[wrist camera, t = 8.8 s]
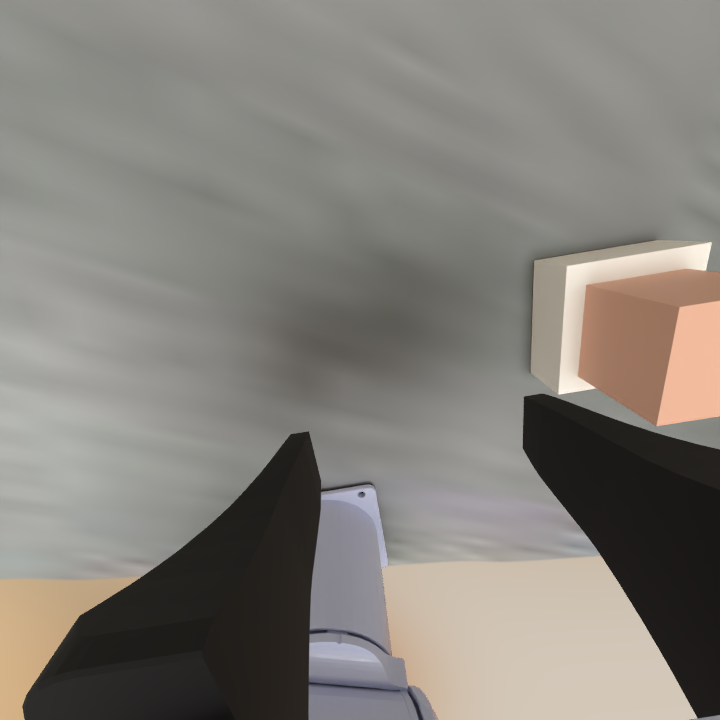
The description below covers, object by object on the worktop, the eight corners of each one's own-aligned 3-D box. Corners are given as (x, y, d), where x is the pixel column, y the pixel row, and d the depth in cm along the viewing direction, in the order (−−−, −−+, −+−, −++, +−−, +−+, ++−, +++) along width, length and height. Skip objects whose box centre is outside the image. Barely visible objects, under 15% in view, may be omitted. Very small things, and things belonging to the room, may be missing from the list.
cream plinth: (530, 373, 22) (558, 394, 19) (534, 260, 19) (566, 266, 16) (639, 355, 22) (683, 374, 19) (657, 239, 19) (711, 242, 16)
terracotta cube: (577, 376, 19) (656, 426, 14) (586, 284, 17) (679, 307, 12) (669, 361, 19) (777, 407, 14) (687, 268, 17) (819, 284, 12)
